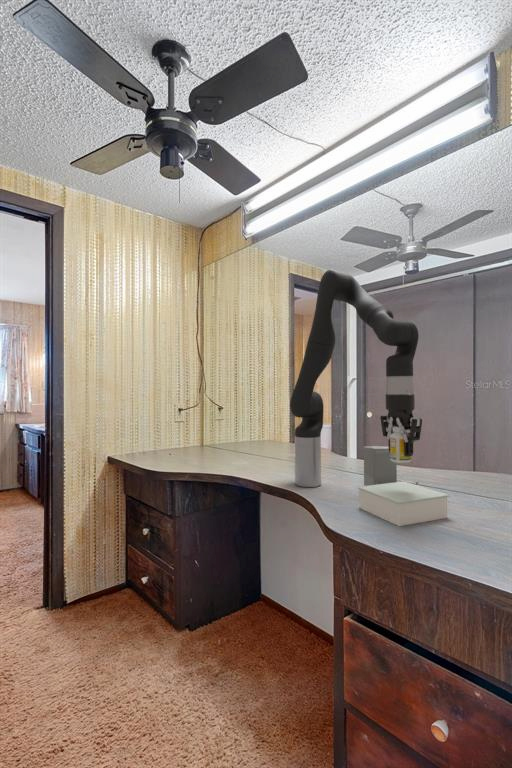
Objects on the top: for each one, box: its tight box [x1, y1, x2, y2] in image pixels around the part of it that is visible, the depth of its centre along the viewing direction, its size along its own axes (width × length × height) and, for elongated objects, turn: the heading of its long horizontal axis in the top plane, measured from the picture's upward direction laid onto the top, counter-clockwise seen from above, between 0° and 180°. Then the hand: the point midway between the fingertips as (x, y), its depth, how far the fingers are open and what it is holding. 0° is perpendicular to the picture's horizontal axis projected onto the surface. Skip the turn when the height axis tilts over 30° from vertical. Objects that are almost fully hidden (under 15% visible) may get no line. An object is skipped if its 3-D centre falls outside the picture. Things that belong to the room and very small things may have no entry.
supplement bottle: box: [390, 426, 412, 464], centre depth 108 cm, size 5×5×10 cm
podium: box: [357, 481, 450, 527], centre depth 108 cm, size 17×17×6 cm
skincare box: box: [363, 445, 398, 486], centre depth 123 cm, size 8×7×16 cm
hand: (400, 454), depth 108 cm, fingers closed on supplement bottle, 5 cm apart
